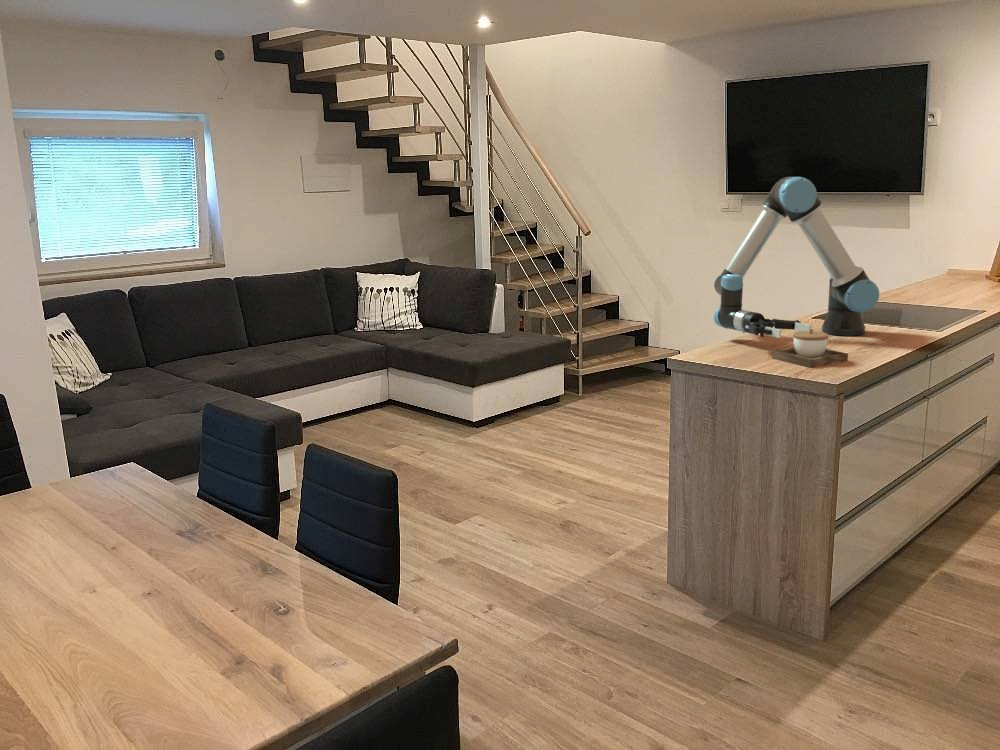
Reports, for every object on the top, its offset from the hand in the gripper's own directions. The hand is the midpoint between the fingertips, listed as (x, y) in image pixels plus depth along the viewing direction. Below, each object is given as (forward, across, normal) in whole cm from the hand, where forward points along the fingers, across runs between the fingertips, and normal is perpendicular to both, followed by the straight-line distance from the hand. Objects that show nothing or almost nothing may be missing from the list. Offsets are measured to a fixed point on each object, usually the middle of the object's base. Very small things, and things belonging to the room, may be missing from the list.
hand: (795, 331), depth 289 cm
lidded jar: (+7, 0, -8) cm, 10 cm away
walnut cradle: (+7, 0, -8) cm, 11 cm away
